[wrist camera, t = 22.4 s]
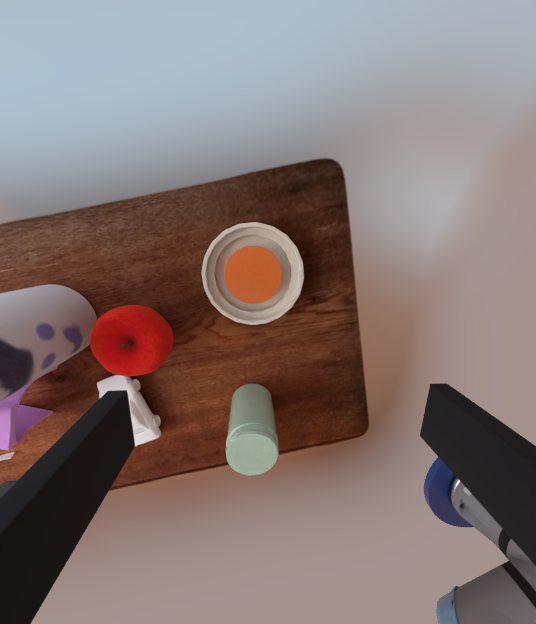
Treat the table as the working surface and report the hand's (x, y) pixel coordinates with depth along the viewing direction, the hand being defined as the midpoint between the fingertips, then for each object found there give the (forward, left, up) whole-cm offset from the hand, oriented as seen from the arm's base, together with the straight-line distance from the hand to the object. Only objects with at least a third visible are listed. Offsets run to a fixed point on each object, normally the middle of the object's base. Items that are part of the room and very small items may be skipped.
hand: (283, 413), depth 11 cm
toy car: (+8, +25, -26) cm, 37 cm away
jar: (-8, +16, -26) cm, 31 cm away
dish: (+2, -2, -26) cm, 26 cm away
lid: (+2, -2, -24) cm, 24 cm away
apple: (+11, +12, -26) cm, 31 cm away
